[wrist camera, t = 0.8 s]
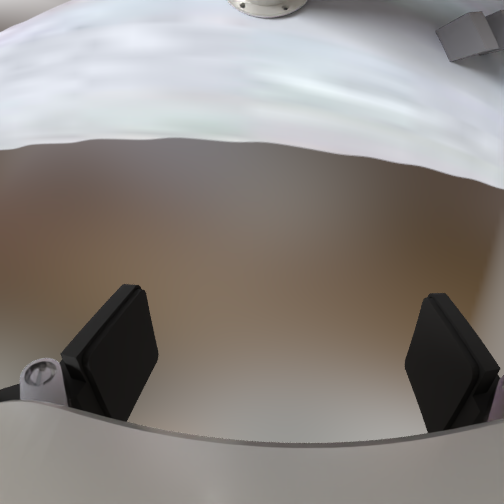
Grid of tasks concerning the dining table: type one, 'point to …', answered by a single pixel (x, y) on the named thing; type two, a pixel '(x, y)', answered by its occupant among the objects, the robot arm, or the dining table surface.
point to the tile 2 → (496, 29)
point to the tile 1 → (467, 36)
